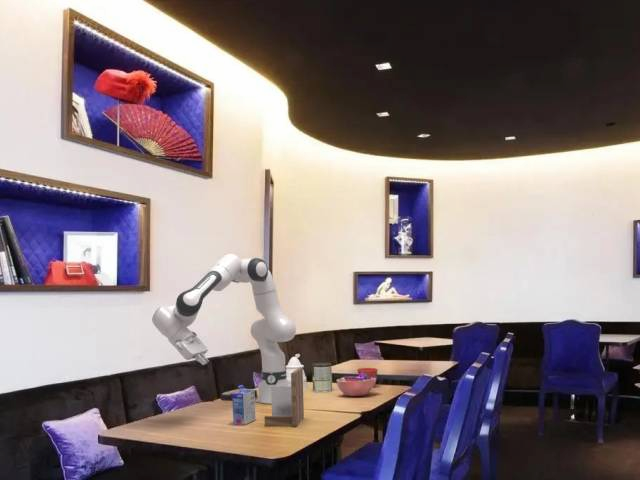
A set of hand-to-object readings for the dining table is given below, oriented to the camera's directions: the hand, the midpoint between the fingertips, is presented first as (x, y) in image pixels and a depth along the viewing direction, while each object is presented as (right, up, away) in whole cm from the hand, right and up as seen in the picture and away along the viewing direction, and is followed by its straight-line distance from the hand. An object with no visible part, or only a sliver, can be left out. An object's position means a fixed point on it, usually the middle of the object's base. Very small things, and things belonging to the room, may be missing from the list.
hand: (206, 363), depth 246 cm
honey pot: (+32, -31, +86) cm, 97 cm away
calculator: (+6, -29, +56) cm, 63 cm away
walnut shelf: (+32, -22, -6) cm, 39 cm away
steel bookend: (+32, -23, +1) cm, 39 cm away
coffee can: (+47, -29, +71) cm, 90 cm away
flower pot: (+72, -29, +80) cm, 111 cm away
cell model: (+64, -27, +53) cm, 87 cm away
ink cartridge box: (+16, -23, -4) cm, 28 cm away
